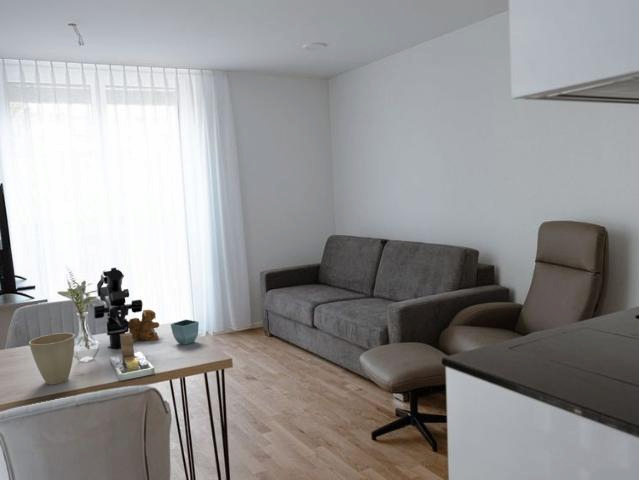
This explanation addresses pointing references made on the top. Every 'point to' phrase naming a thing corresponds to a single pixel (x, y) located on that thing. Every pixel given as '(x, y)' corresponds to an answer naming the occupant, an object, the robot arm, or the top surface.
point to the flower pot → (185, 331)
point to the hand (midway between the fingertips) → (121, 326)
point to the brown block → (127, 347)
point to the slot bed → (119, 364)
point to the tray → (135, 372)
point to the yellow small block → (132, 364)
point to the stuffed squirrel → (144, 327)
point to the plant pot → (54, 356)
